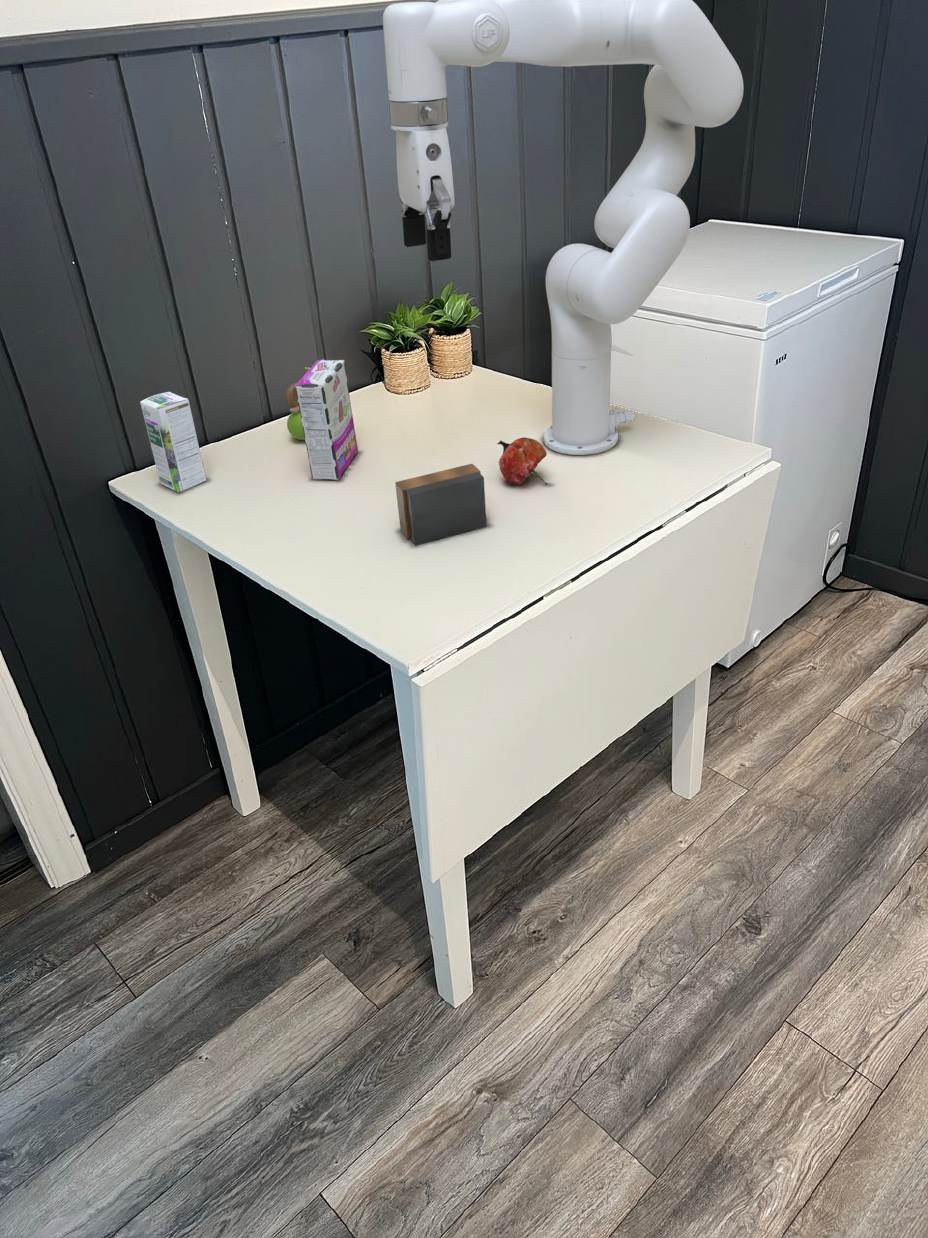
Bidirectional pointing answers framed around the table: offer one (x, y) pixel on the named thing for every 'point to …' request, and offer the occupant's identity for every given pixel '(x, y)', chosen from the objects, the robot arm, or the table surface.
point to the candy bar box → (327, 419)
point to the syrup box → (173, 441)
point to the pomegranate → (520, 459)
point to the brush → (441, 504)
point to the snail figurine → (294, 413)
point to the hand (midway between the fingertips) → (427, 252)
